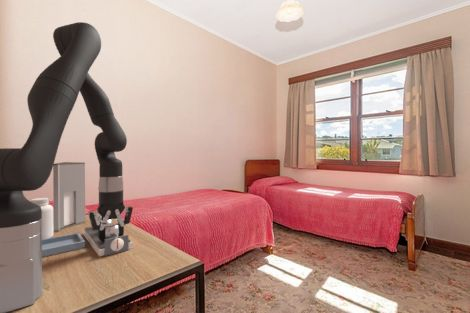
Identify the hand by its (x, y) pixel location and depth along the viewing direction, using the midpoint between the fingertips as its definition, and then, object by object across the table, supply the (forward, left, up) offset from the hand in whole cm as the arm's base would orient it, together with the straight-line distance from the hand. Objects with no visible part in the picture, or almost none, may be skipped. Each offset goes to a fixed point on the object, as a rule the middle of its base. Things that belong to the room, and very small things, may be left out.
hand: (111, 238), depth 83 cm
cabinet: (+41, +6, -3) cm, 42 cm away
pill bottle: (+27, +18, -3) cm, 33 cm away
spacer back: (+18, 0, 0) cm, 18 cm away
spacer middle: (+9, 0, 0) cm, 9 cm away
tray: (+11, +13, -3) cm, 17 cm away
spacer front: (0, 0, 0) cm, 0 cm away
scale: (+8, 0, -3) cm, 9 cm away
